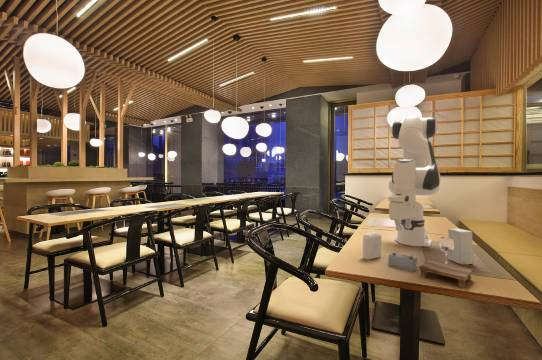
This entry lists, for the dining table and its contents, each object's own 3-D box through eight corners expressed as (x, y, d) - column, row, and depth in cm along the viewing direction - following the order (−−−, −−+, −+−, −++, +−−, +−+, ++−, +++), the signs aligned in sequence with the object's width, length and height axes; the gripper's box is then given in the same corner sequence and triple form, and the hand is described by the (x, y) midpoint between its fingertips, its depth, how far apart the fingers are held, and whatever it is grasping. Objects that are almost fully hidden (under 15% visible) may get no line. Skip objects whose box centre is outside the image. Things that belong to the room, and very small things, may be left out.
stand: (428, 269, 113) (428, 259, 113) (472, 279, 102) (472, 269, 102) (418, 276, 105) (419, 266, 105) (465, 288, 94) (465, 277, 94)
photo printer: (374, 254, 133) (375, 229, 133) (382, 257, 129) (382, 231, 129) (361, 258, 127) (361, 232, 127) (368, 260, 124) (369, 233, 123)
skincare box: (473, 264, 120) (474, 231, 119) (460, 264, 119) (461, 231, 119) (459, 258, 128) (460, 227, 128) (446, 258, 128) (447, 227, 127)
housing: (392, 263, 120) (392, 250, 120) (416, 269, 113) (417, 256, 113) (388, 265, 117) (388, 252, 117) (412, 272, 110) (413, 258, 110)
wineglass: (435, 263, 120) (436, 237, 120) (444, 262, 123) (444, 236, 122) (448, 267, 115) (449, 240, 115) (457, 266, 117) (457, 239, 117)
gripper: (405, 195, 124) (404, 225, 124) (386, 197, 110) (385, 230, 110) (420, 196, 119) (419, 227, 120) (402, 198, 105) (401, 233, 105)
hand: (403, 228), depth 115 cm, fingers open, 8 cm apart
